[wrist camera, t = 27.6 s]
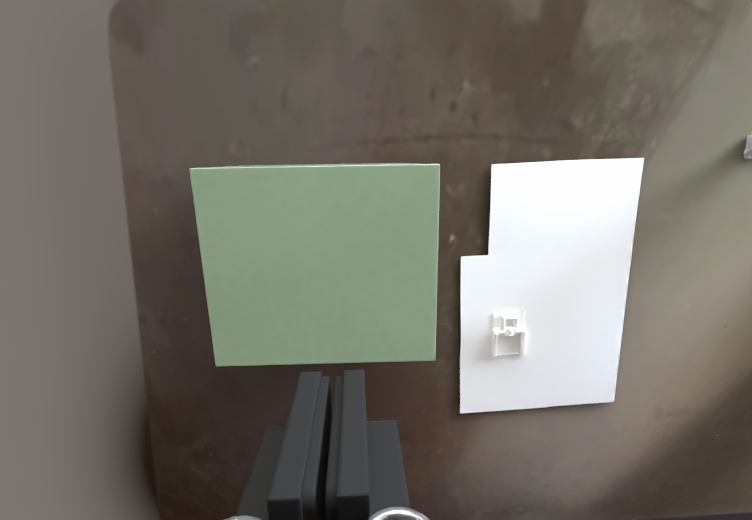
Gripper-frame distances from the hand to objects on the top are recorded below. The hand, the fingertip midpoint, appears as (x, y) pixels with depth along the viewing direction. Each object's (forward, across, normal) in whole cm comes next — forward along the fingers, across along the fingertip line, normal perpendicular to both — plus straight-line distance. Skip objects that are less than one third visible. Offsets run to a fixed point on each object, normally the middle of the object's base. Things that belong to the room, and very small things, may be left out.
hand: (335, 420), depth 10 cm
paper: (+25, -18, +6) cm, 31 cm away
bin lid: (+15, +2, 0) cm, 15 cm away
